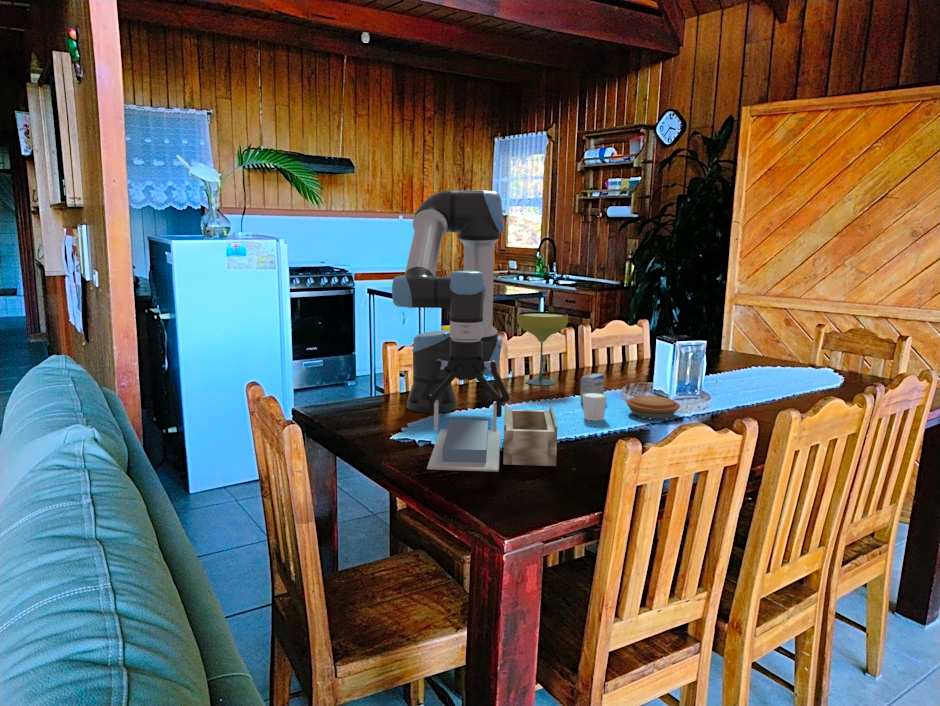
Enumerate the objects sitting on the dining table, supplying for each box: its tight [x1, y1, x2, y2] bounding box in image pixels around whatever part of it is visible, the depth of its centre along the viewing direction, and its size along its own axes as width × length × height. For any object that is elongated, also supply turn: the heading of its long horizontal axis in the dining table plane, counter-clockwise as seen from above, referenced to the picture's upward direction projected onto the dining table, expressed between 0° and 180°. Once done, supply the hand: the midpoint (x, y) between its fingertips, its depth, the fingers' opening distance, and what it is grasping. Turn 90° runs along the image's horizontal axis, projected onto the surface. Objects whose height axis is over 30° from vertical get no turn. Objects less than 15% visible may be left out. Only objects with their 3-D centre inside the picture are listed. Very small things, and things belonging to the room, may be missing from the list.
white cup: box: [582, 393, 608, 422], centre depth 198 cm, size 7×7×7 cm
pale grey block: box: [443, 419, 489, 463], centre depth 169 cm, size 10×26×3 cm, turn 177°
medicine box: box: [579, 373, 605, 404], centre depth 219 cm, size 8×4×9 cm, turn 143°
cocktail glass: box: [516, 311, 569, 387], centre depth 246 cm, size 18×18×25 cm
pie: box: [625, 395, 681, 420], centre depth 203 cm, size 15×16×5 cm
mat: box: [426, 428, 501, 473], centre depth 168 cm, size 16×32×1 cm, turn 177°
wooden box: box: [502, 404, 558, 467], centre depth 166 cm, size 12×20×9 cm, turn 177°
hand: (465, 429), depth 159 cm, fingers open, 13 cm apart
